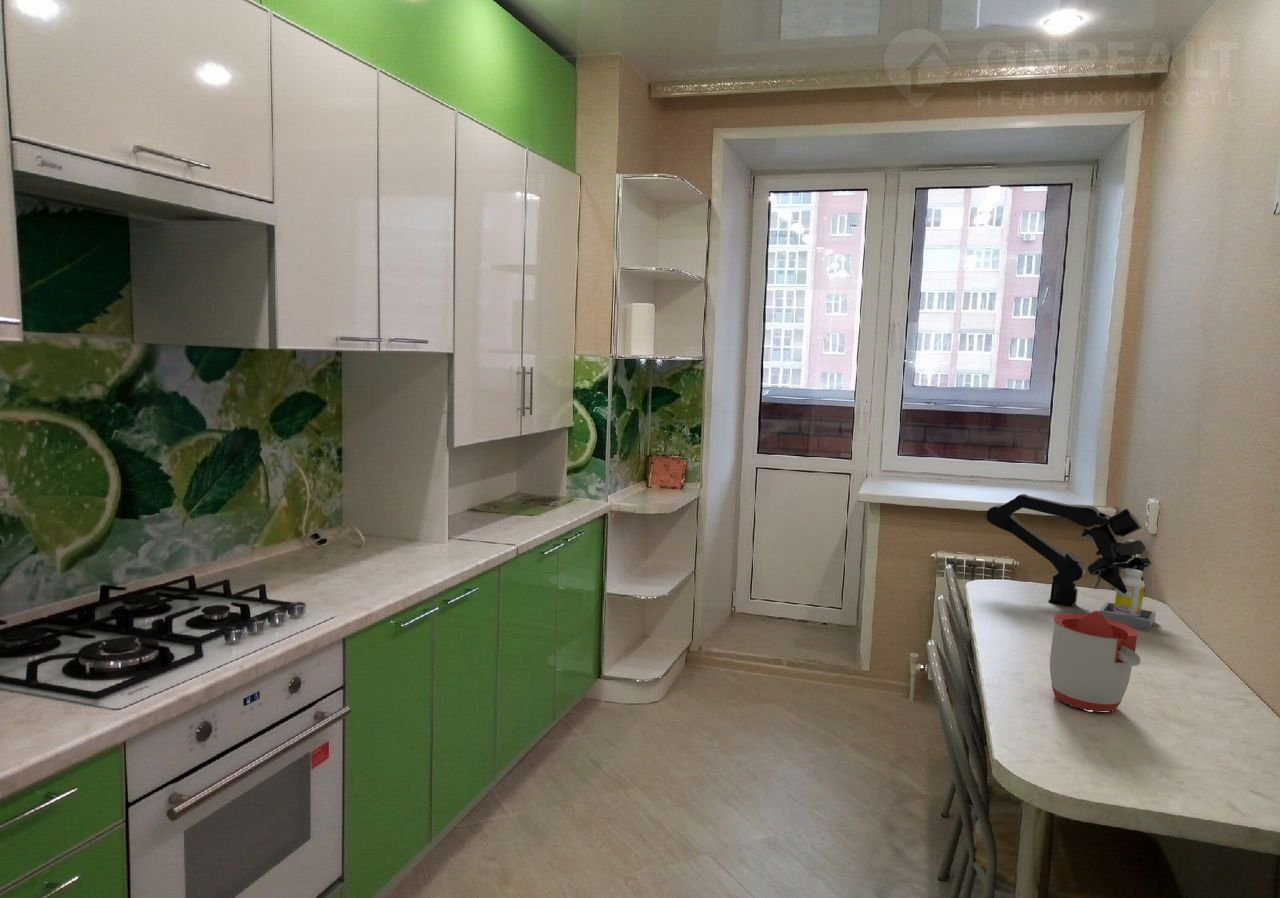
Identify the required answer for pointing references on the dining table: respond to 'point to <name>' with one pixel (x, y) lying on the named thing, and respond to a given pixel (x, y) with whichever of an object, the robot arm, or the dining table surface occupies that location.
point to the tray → (1140, 623)
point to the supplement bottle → (1130, 594)
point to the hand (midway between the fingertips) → (1134, 592)
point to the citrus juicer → (1091, 660)
